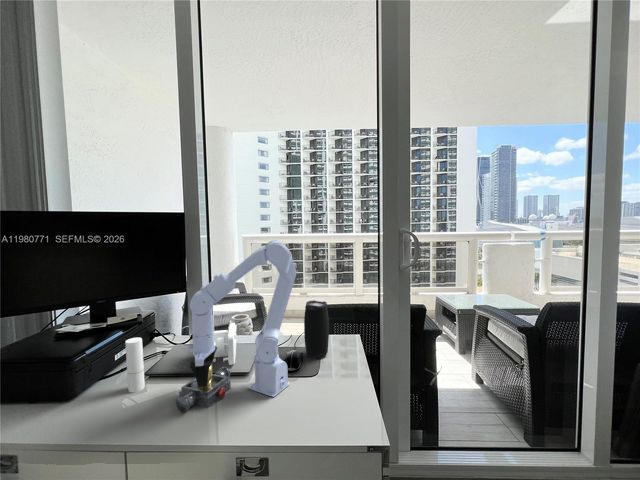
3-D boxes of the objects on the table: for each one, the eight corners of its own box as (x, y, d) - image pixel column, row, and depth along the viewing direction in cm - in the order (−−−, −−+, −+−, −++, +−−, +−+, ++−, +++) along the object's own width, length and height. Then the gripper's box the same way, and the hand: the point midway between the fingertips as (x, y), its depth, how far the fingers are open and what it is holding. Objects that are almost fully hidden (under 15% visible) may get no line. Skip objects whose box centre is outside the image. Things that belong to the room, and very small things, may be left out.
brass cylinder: (215, 384, 93) (215, 364, 93) (204, 391, 90) (203, 370, 89) (205, 380, 95) (205, 361, 95) (194, 387, 92) (193, 367, 91)
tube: (137, 393, 94) (134, 343, 93) (124, 391, 95) (121, 342, 93) (148, 385, 98) (145, 337, 97) (135, 384, 99) (133, 337, 98)
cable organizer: (208, 353, 121) (207, 323, 120) (237, 350, 123) (236, 320, 122) (203, 371, 106) (201, 337, 105) (236, 368, 108) (234, 334, 108)
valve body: (212, 376, 103) (211, 364, 103) (241, 382, 99) (241, 369, 99) (167, 408, 86) (167, 394, 85) (201, 417, 82) (200, 402, 82)
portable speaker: (332, 351, 120) (332, 300, 119) (321, 362, 112) (321, 307, 110) (312, 347, 124) (311, 298, 122) (300, 357, 115) (299, 304, 114)
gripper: (194, 325, 98) (195, 368, 99) (182, 344, 83) (184, 394, 84) (218, 323, 99) (219, 366, 100) (210, 342, 85) (212, 391, 86)
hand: (205, 379), depth 92 cm, fingers open, 7 cm apart
